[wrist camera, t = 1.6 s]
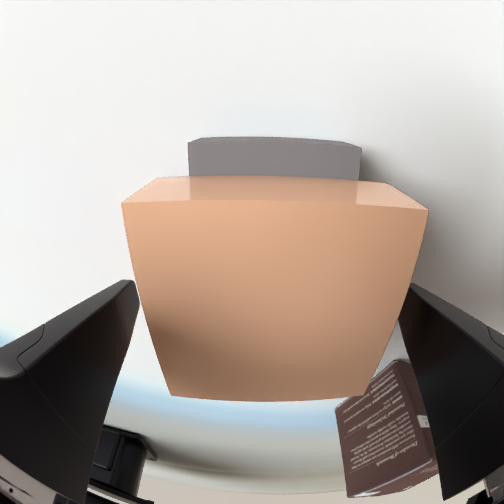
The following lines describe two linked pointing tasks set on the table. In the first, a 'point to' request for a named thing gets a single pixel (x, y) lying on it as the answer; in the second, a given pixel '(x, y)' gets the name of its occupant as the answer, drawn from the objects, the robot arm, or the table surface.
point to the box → (386, 435)
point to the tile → (271, 281)
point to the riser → (273, 157)
